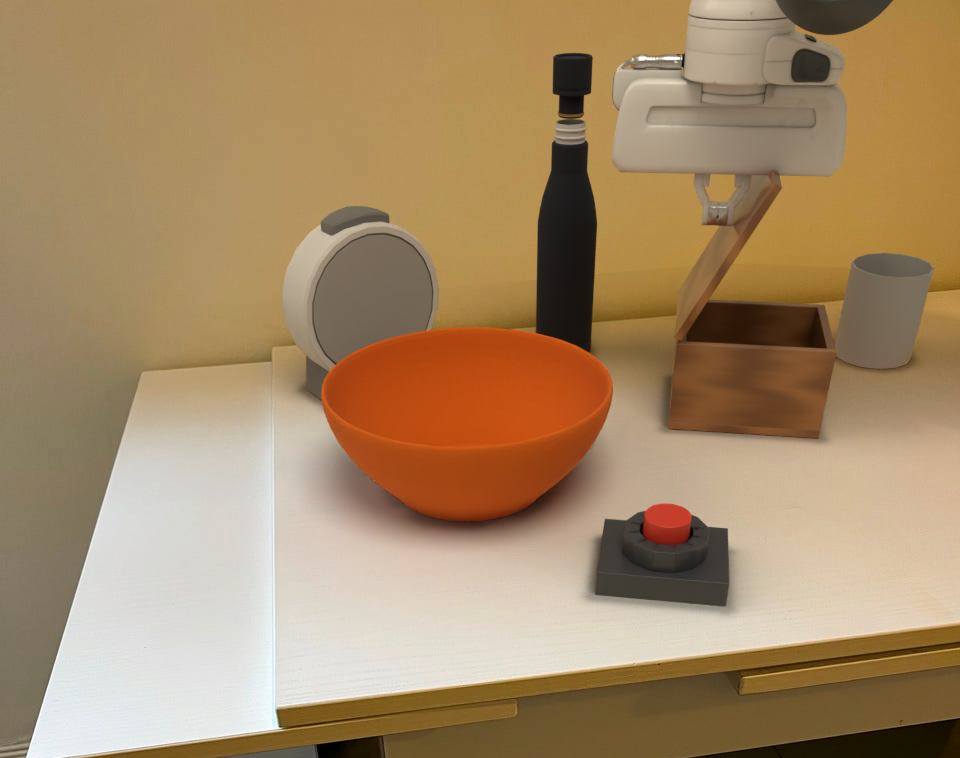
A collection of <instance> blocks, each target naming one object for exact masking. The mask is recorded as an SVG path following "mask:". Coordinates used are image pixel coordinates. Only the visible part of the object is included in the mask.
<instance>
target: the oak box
mask: <svg viewBox="0 0 960 758" xmlns="http://www.w3.org/2000/svg"><path fill="white" fill-rule="evenodd" d="M836 353H837V352H836V348H835V340H834V337H833V333H832V329H831V325H830V321H829V317H828V313H827V309H826V305H825V304H819V303H818V304H815V303H797V302H795V303H793V302H773V301H772V302H771V301H769V302H768V301H748V300H729V299H727V300H726V299H725V300H724V299H709V300H708V302H707V303H706V305H705V306H704V308H703V309H702V311H701V312H700V314H699V315H698V317H697V318H696V320H695V321H694V323H693V324H692V326H691V327H690V329H689V331H688V332H687V334H686V335H685V337H684V338H683V340H682V341H680V340H679V339H677V338H675V345H674V353H673V354H674V355H673V364H672V372H671V381H670V382H671V385H670V395H669V397H670V398H669V411H668V425H667V428H668V429H669V430H684V431H696V432H697V431H698V432H699V431H700V432H712V433H713V432H715V433H729V434H746V435H760V436H775V437H777V436H778V437H791V438H793V437H794V438H808V439H819V438H820V433H821V429H822V424H823V419H824V414H825V409H826V405H827V400H828V395H829V391H830V386H831V381H832V376H833V372H834V367H835V362H836V359H837V357H836Z"/></svg>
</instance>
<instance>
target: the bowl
mask: <svg viewBox="0 0 960 758" xmlns="http://www.w3.org/2000/svg"><path fill="white" fill-rule="evenodd" d="M613 395H614V383H613V379H612V376H611V373H610V372H609V369H608V368H607V367H606V366H605V364H604V363H602V362H601V360H599V359H598V358H597V357H596V356H594V354H592V353H591V352H590V353H589V352H587V351H585V350H583V349H582V348H580V347H578V346H576V345H573V344H571V343H568V342H566V341H563V340H560V339H557V338H553V337H550V336H546V335H542V334H537V333H536V332H533V331H526V330H519V329H512V328H504V327H503V328H501V327H486V326H485V327H483V326H473V327H472V326H468V327H467V326H466V327H445V328H437V329H432V330H427V331H420V332H415V333H410V334H405V335H400V336H396V337H392V338H389V339H385V340H382V341H379V342H376V343H373V344H371V345H368V346H366V347H364V348H361V349H359V350H357V351H355V352H353V353H352V354H350V355H348V356H347V357H345V358H344V359H342V360H341V361H340V362H339V363H337V364H336V365H335V366H334V367H333V368H332V369H331V370H330V372H329V373H328V374H327V375H326V377H325V379H324V382H323V385H322V389H321V399H322V400H321V399H320V400H321V404H322V410H323V413H324V415H325V419H326V422H327V423H328V425H329V428H330V430H331V432H332V434H333V435H334V437H335V439H336V441H337V442H338V443H339V445H340V446H341V448H342V449H343V451H344V452H345V454H346V455H347V456H348V457H349V459H350V460H351V461H352V462H353V463H354V464H355V465H356V467H357V468H359V469H360V470H361V471H362V472H363V473H364V474H365V475H366V476H367V477H368V478H370V480H372V481H373V482H374V483H375V484H377V485H378V486H379V487H381V488H382V489H383V490H385V491H386V492H388V493H389V494H391V495H392V496H394V497H395V498H397V499H398V500H399V501H401V502H402V503H403V504H404V505H405V506H406V507H408V508H410V509H411V510H413V512H414V511H415V512H417V513H419V514H421V515H424V516H426V517H430V518H434V519H439V520H443V521H451V522H483V521H491V520H496V519H501V518H504V517H507V516H511V515H513V514H516V513H518V512H520V511H523V510H525V509H527V508H528V507H529V506H530V505H533V503H535V502H536V501H537V500H538V499H539V498H540V497H541V496H542V495H543V494H546V492H548V491H549V490H550V489H552V488H553V487H554V486H556V485H557V484H558V483H559V482H560V481H561V480H563V479H564V478H565V477H566V476H567V475H569V473H570V472H571V471H572V470H574V468H575V467H576V466H578V464H579V463H580V462H581V461H582V459H583V458H584V457H585V456H586V454H587V453H588V452H589V451H590V449H591V448H592V446H593V445H594V443H595V442H596V441H597V439H598V437H599V435H600V433H601V431H602V430H603V428H604V425H605V423H606V420H607V418H608V416H609V412H610V408H611V406H612V402H613Z"/></svg>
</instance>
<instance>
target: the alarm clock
mask: <svg viewBox="0 0 960 758" xmlns="http://www.w3.org/2000/svg"><path fill="white" fill-rule="evenodd" d="M281 292H282V295H281V297H282V298H281V299H282V315H283V317H284V321H285V325H286V329H287V331H288V333H289V335H290V337H291V339H292V340H293V342H294V343H295V345H296V347H297V348H298V349H299V350H300V351H301V352H303V354H304V355H305V356H306V357H305V359H306V360H305V390H306V391H308V392H310V393H311V394H312V395H314V396H315V397H316V398H318V399H319V400H320V401H322V399H321V389H322V385H323V382H324V379H325V377H326V375H327V374H328V373H329V372H330V370H331V369H332V368H333V367H334V366H335V365H336V364H337V363H339V362H340V361H341V360H342V359H344V358H345V357H347V356H348V355H350V354H352V353H353V352H355V351H357V350H359V349H361V348H364V347H366V346H368V345H371V344H373V343H376V342H379V341H382V340H385V339H389V338H392V337H396V336H400V335H405V334H410V333H415V332H420V331H427V330H433V327H434V324H435V321H436V317H437V312H438V310H439V309H438V308H439V293H440V288H439V282H438V275H437V269H436V267H435V265H434V262H433V259H432V257H431V255H430V253H429V251H428V250H427V249H426V247H425V246H424V245H423V244H422V242H421V241H420V240H419V239H418V237H417V236H415V235H413V234H412V233H410V232H409V231H408V230H406V229H405V228H404V227H401V226H399V225H396V224H394V223H392V222H390V214H389V213H388V212H385V211H384V210H381V209H378V208H375V207H370V206H363V205H362V206H361V205H351V206H349V205H347V206H344V207H341V208H338V209H337V210H334V211H332V212H331V213H329V214H328V215H326V216H325V217H324V218H323V219H321V220H320V224H319V225H317V227H315V228H314V229H312V230H311V231H310V232H309V233H308V234H307V235H306V236H305V238H304V239H302V241H301V242H300V244H299V245H298V246H297V247H296V248H295V250H294V253H293V255H292V257H291V259H290V260H289V264H287V268H286V270H285V275H284V280H283V285H282V290H281Z"/></svg>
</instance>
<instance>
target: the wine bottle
mask: <svg viewBox="0 0 960 758" xmlns="http://www.w3.org/2000/svg"><path fill="white" fill-rule="evenodd" d="M593 59H594V57H593V55H592V54H590V53H584V52H583V53H582V52H565V53H564V52H563V53H558V54H555V55H553V56H552V92H551V93H552V95H555V96H558V111H557V116H558V117H559V118H561V119H559V120H556V121H555V126H554V127H553V128H554V129H553V130H554V131H555V133H554V134H553V137H554V139H555V140H553V141H552V142H551V159H550V160H551V161H550V162H551V163H550V173H549V176H548V178H547V181H546V185H545V188H544V189H543V190H544V191H543V193H542V198H541V202H540V206H539V211H538V218H537V232H536V233H537V234H536V235H537V237H536V238H537V241H536V243H537V244H536V294H535V295H536V298H535V303H536V304H535V313H536V314H535V333H537V334H542V335H546V336H550V337H553V338H557V339H560V340H563V341H566V342H568V343H571V344H573V345H576V346H578V347H580V348H582V349H583V350H585V351H587V352H589V353H590V354H591V351H592V335H593V334H592V333H593V312H594V295H595V294H594V293H595V275H596V274H595V273H596V257H597V256H596V255H597V234H598V219H597V218H598V216H597V208H596V202H595V196H594V192H593V189H592V184H591V179H590V176H589V172H588V161H589V160H588V159H589V142H588V141H587V140H586V138H587V133H586V131H587V129H588V127H587V125H586V120H583V119H581V118H583V117H584V116H585V110H584V107H585V96H587V95H591V93H592V81H593V63H594V61H593Z"/></svg>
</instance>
